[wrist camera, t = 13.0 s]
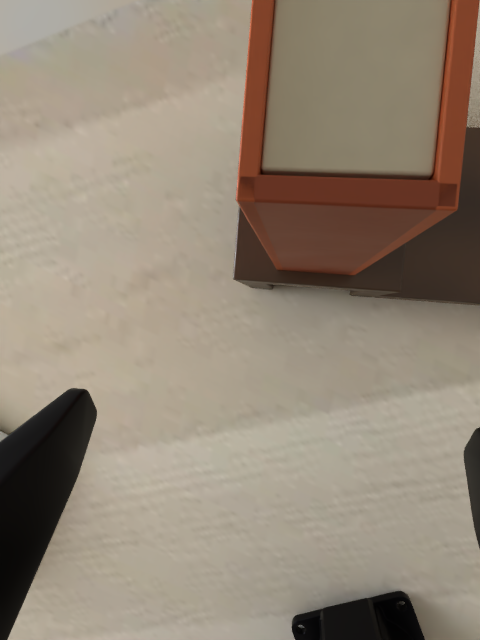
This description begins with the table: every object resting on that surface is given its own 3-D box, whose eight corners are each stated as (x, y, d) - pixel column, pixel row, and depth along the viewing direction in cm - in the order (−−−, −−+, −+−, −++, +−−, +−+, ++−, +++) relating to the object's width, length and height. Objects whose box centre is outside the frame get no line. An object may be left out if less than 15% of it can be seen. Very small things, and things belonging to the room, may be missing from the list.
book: (355, 275, 15) (458, 210, 5) (276, 269, 16) (235, 200, 6) (372, 89, 15) (517, -353, 5) (292, 89, 15) (277, -317, 5)
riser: (607, 315, 19) (745, 317, 13) (251, 287, 22) (232, 279, 16) (627, 148, 19) (777, 74, 13) (263, 141, 21) (249, 76, 15)
